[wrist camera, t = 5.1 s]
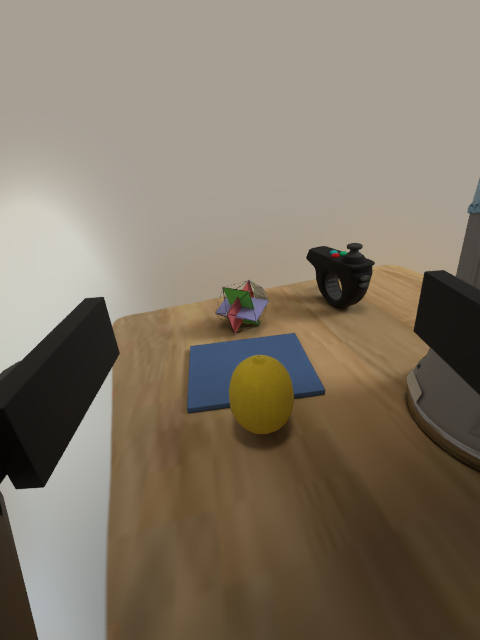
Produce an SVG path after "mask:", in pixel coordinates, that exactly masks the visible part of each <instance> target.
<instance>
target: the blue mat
mask: <svg viewBox="0 0 480 640" xmlns="http://www.w3.org/2000/svg"><path fill="white" fill-rule="evenodd" d="M255 355H266V356H270V357H272V358H274V359H276V360H278V361H279V362H280V363H281V364H282V365H283V366H284V367H285V368H286V370H287V372H288V373H289V376H290V378H291V381H292V386H293V392H294V398H301V397H308V396H315V395H322V394H325V389H324V387H323V385H322V383H321V381H320V379H319V377H318V376H317V374H316V372H315V370H314V368H313V366H312V364H311V362H310V361H309V359H308V357H307V355H306V353H305V351H304V349H303V348H302V346H301V344H300V342H299V340H298V338H297V336H296V334H295V333H291V334H283V335H275V336H267V337H259V338H251V339H243V340H236V341H228V342H220V343H212V344H204V345H196V346H190V363H189V383H188V402H187V410H188V413H192V412H199V411H207V410H214V409H221V408H228V407H230V401H229V386H230V381H231V377H232V374H233V372H234V370H235V369H236V367H237V366H238V365H239V364H240V363H241V362H242V361H243V360H245V359H247V358H249V357H251V356H255Z"/></svg>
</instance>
